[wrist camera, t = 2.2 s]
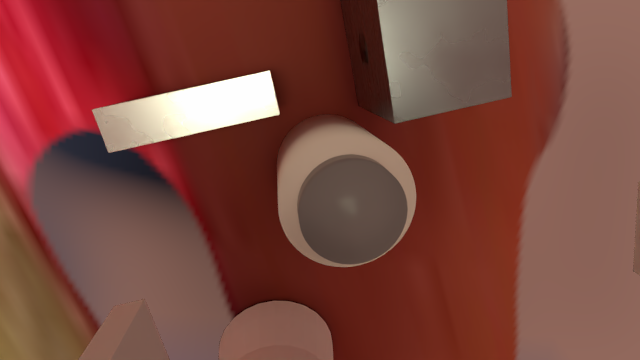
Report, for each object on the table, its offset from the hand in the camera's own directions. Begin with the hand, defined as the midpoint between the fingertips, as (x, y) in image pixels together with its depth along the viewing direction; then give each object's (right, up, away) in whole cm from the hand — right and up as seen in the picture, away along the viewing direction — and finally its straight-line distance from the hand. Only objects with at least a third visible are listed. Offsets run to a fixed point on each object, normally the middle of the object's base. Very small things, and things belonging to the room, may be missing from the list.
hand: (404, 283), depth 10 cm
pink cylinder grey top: (-2, +4, +13) cm, 14 cm away
